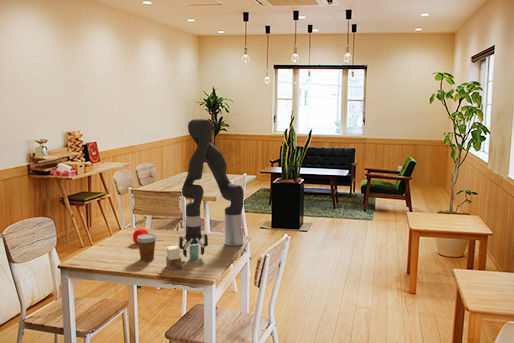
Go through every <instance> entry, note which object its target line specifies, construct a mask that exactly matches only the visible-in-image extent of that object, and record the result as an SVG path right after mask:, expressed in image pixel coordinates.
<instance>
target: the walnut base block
mask: <svg viewBox="0 0 514 343" xmlns="http://www.w3.org/2000/svg"><path fill="white" fill-rule="evenodd" d="M165 259H166V262H165V263H166V265H165V266H166V267H167V268H166V269H167V270H168V271H174V270H175V271H176V270H182V257H180V259H173V260H169V259H168V257H167V255H166V258H165Z"/></svg>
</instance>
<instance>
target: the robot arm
mask: <svg viewBox="0 0 514 343" xmlns="http://www.w3.org/2000/svg"><path fill="white" fill-rule="evenodd" d="M187 124H188V125H187V131H188V133H189V136H190V137H191V139H192V140H193V141H194V143H195V145H196V149H195V151H194V152H193V154H192V156H191V157H190V159H189V163H188V171H187V176H186V177H185V180H184V183H183V185H182V187H181V194H182V196H183V197H184V198H185V199H192V200H193V202H188V203H187V204H185V236H182V235H180V236H179V238H178V241H179V242H178V247H179V250H182V255H183V256H184V257H185V258H187V254H188V253H187V248H188V247H190V245H192V244H197V245H199V246H200V255H201V256H203V255H204V254H205V248H206V247H208V246H209V242H208V240H209V239H208V234H207V233H203V234H202V220H201V219H202V217H201V205H202V200H203V197H204V188H203V186H202V185H200V184H194V182H195V181H197V180H198V181H199V180H202V177H203V171H204V163H205V162H206V164H207V166H208V168H209V170H210V172H211V173H212V176H213V177H214V180H215V182H216V184H217V186H218V189H219V192H220V194H221V196H222V198H223V199H224V200H226V201H230V205H229V206H227V207H225V208H224V244H226V245H225V246H227V245H228V247H240V246H241V245H244V227H243V226H242V225H243V212H242V211H243V209H244V208H243V207H244V197H245V196H244V194H245V193H244V188H243V186H242V185H240V184H236V183H232V182H231V181H230V180H229V178H228V176H227V170H228V164H227V161H226V159H225V157H224V154H223V153H222V152H221V150H220V149H218V148H217V147H216V146H215V145H214V144H213V143H211V142H210V141H211V137H212V134H213V123H212V122H211V120H210V119H207V118H195V119H191V120H190V121H188V123H187ZM201 239H203V241H204V242H202V241H201ZM184 241H185V242H184ZM183 243H184V244H183Z"/></svg>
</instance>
